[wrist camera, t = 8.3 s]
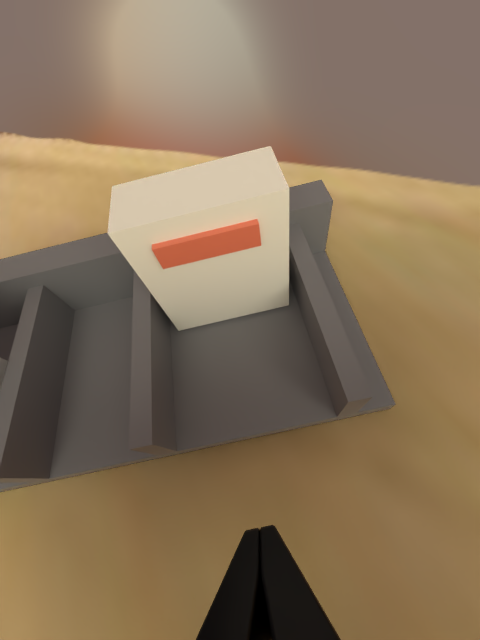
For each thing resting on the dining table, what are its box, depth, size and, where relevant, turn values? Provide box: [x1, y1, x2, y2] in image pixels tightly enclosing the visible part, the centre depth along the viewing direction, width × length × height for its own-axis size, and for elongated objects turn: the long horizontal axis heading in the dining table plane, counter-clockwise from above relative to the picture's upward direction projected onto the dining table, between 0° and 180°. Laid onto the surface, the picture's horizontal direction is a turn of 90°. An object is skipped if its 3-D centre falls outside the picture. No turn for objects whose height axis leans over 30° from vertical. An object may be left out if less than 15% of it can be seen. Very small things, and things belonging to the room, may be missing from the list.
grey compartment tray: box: [0, 180, 395, 492], centre depth 16 cm, size 13×30×5 cm, turn 100°
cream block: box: [108, 146, 289, 331], centre depth 15 cm, size 3×7×8 cm, turn 100°
